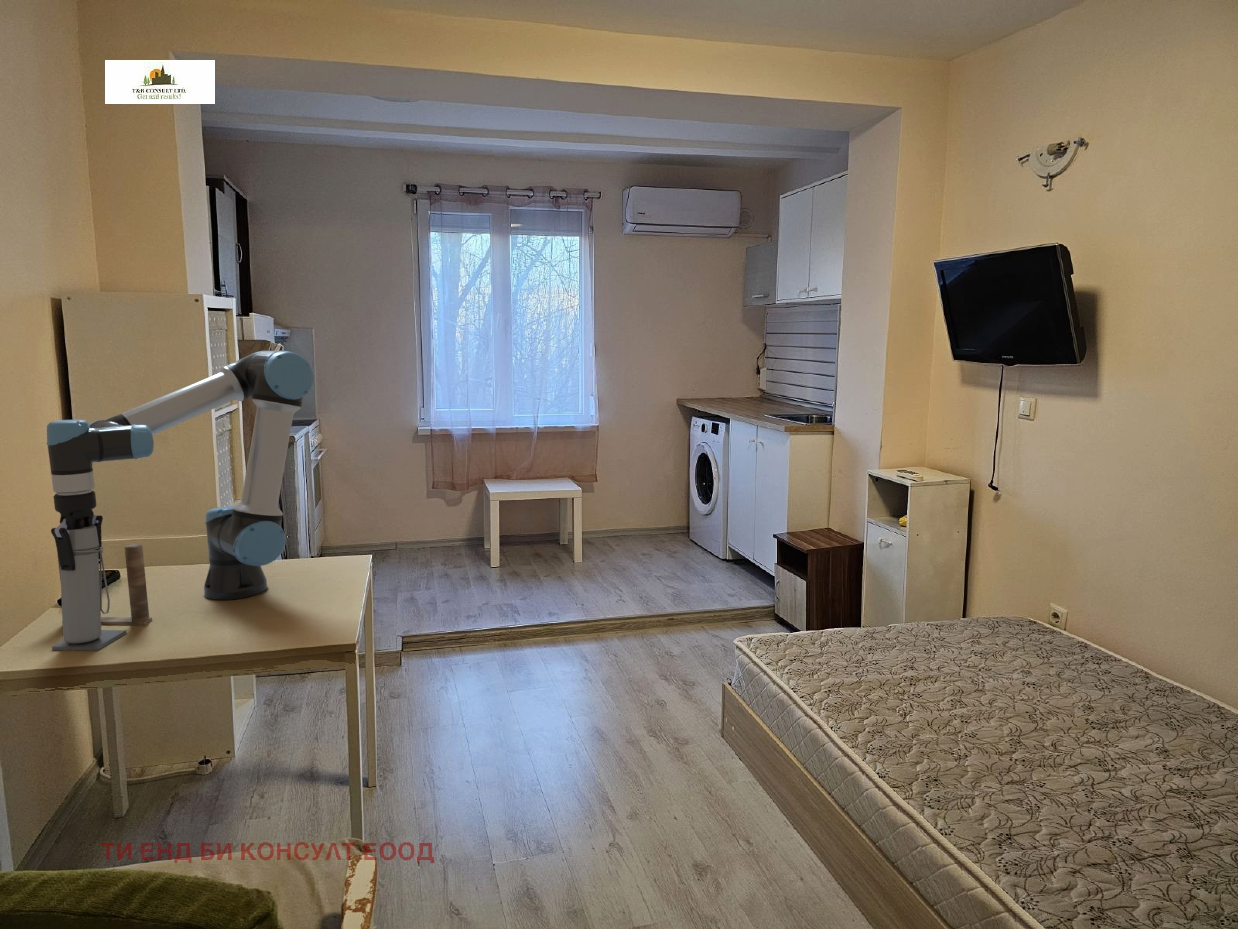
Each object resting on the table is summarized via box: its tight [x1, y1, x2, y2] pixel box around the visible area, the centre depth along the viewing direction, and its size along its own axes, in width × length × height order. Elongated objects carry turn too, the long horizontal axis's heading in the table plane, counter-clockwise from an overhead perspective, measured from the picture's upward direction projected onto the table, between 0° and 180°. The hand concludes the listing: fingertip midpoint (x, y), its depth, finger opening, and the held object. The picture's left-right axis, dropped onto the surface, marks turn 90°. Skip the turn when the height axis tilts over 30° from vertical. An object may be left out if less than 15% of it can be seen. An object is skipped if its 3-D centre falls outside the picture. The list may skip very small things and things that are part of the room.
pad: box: [51, 629, 127, 652], centre depth 179 cm, size 10×10×1 cm
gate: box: [56, 543, 153, 626], centre depth 189 cm, size 20×4×19 cm, turn 89°
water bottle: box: [59, 525, 111, 643], centre depth 176 cm, size 9×8×25 cm
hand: (85, 596), depth 177 cm, fingers open, 2 cm apart
